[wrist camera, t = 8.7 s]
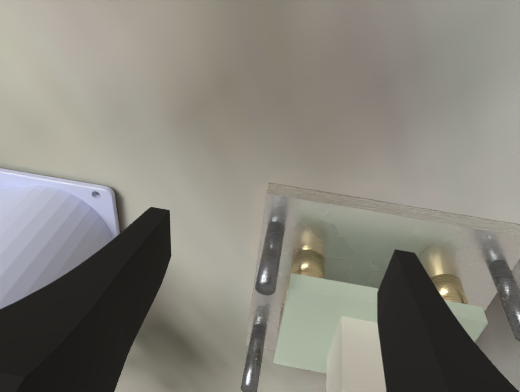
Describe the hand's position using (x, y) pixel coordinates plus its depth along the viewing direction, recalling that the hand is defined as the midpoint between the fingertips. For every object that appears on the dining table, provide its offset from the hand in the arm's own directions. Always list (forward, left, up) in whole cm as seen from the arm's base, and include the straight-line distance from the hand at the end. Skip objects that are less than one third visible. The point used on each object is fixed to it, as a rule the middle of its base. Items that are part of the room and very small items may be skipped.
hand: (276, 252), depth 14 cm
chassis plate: (+6, -11, -9) cm, 16 cm away
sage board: (+6, -11, -6) cm, 14 cm away
